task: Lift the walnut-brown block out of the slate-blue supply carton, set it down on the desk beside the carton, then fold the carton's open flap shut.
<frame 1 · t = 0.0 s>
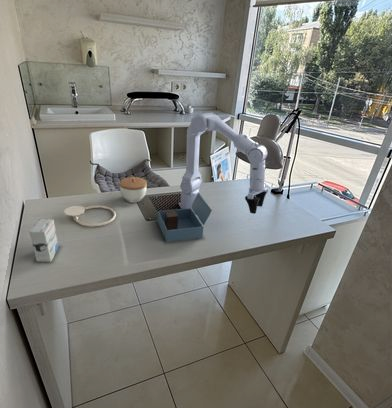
hand: (256, 209, 120), 11 cm above the table, tool pointing down, fingers open, 7 cm apart
ink box: (48, 254, 101), on the table
lidded bowl: (133, 199, 142), on the table
hand towel holder: (91, 217, 124), on the table
carton: (179, 229, 122), on the table
walnut block: (170, 227, 122), resting on carton
flap: (200, 208, 120), point 9 cm above the table, hinge at 112.0°
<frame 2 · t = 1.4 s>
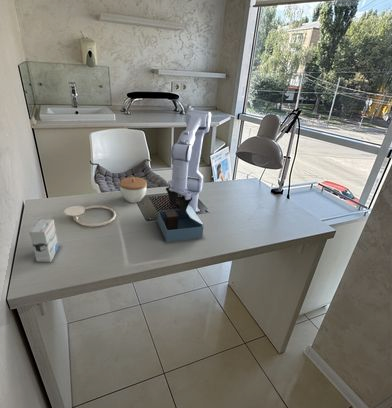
hand: (177, 208, 115), 10 cm above the table, tool pointing down, fingers open, 7 cm apart
flap: (190, 211, 119), point 8 cm above the table, hinge at 35.5°
everything else where it was.
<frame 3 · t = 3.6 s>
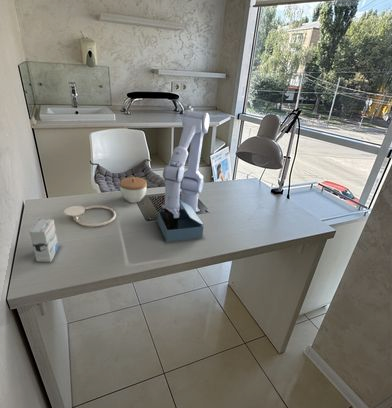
hand: (171, 224, 121), 2 cm above the table, tool pointing down, fingers closed on walnut block, 4 cm apart
walnut block: (171, 227, 122), resting on carton, touching gripper
everything else where it was.
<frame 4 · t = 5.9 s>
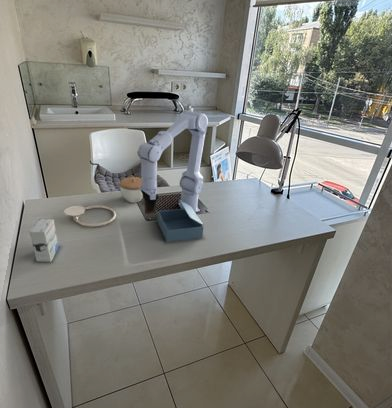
hand: (149, 208, 116), 9 cm above the table, tool pointing down, fingers closed on walnut block, 4 cm apart
walnut block: (149, 211, 117), point 8 cm above the table, touching gripper
everything else where it was.
when the fingers open (1 cm above the table, at t = 8.4 s): walnut block stays where it is, on the table.
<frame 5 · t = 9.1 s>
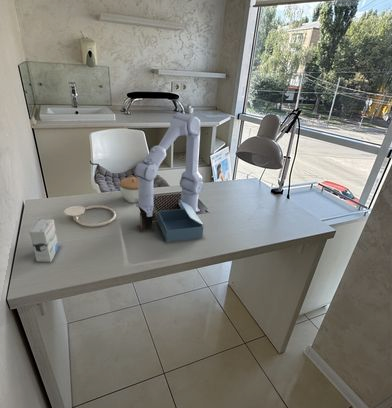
hand: (146, 223, 120), 2 cm above the table, tool pointing down, fingers open, 7 cm apart
walnut block: (146, 228, 121), on the table
everything else where it was.
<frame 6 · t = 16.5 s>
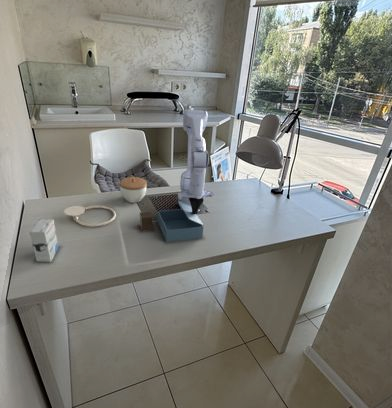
hand: (194, 213, 120), 7 cm above the table, tool pointing down, fingers closed
flap: (190, 212, 119), point 8 cm above the table, hinge at 29.8°
everything else where it was.
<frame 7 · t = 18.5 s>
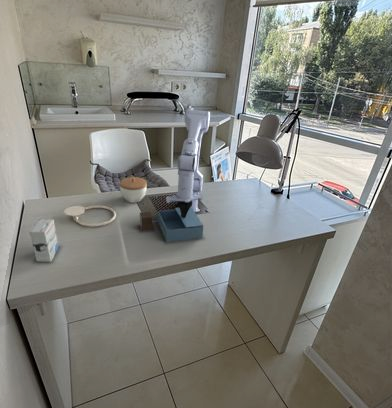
hand: (183, 216, 119), 6 cm above the table, tool pointing down, fingers closed, pressing on flap
flap: (188, 216, 120), point 6 cm above the table, hinge at 0.6°, touching gripper
everything else where it was.
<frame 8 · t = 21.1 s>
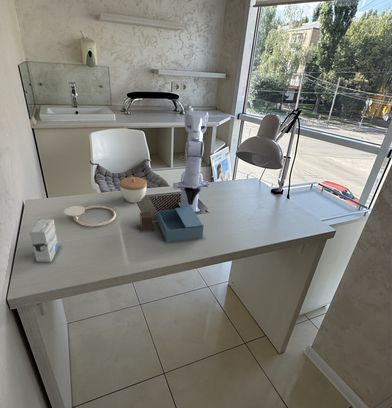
hand: (190, 203, 120), 10 cm above the table, tool pointing down, fingers closed
flap: (188, 216, 120), point 6 cm above the table, hinge at -0.1°
everything else where it was.
at the end: walnut block inside the target area (0.8 cm from its centre), on the table; walnut block tilted 0°; flap at +0° (first picture: +112°) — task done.
